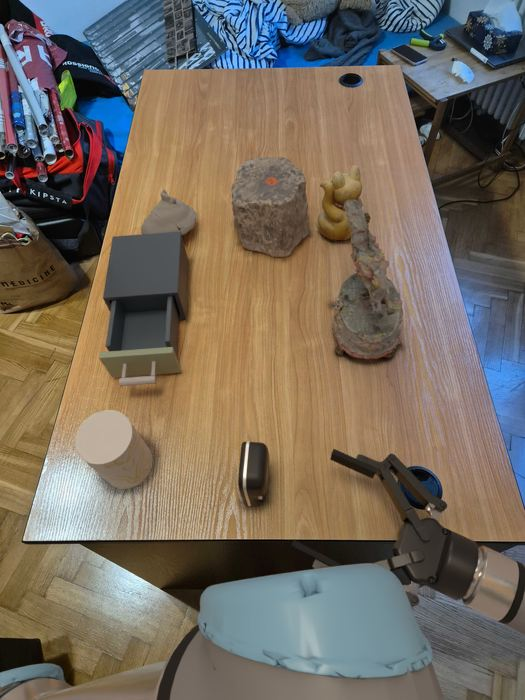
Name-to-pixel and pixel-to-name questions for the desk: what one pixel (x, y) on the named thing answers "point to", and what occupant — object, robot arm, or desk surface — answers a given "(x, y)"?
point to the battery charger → (253, 472)
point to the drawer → (142, 339)
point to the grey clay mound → (169, 217)
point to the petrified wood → (270, 205)
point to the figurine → (367, 297)
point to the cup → (114, 449)
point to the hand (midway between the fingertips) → (312, 496)
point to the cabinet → (148, 268)
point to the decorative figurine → (339, 203)
